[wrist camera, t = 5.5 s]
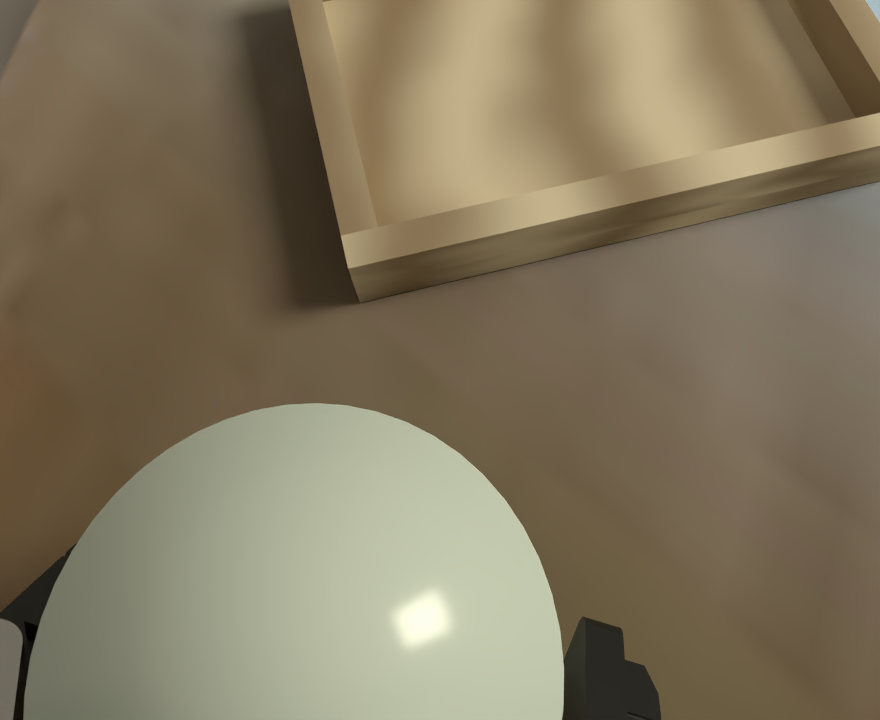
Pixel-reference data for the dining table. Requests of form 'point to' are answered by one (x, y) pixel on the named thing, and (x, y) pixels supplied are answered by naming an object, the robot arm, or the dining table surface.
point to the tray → (575, 122)
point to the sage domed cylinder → (301, 585)
